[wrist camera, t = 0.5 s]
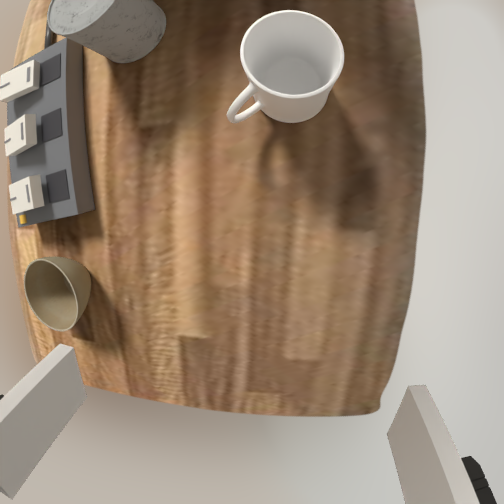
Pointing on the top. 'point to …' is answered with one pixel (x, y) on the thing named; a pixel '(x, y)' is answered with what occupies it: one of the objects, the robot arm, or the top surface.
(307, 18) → the mug
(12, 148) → the block
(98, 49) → the grey concrete cylinder
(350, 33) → the top surface
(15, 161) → the power strip
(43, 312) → the flower pot
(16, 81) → the rocker
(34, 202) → the rocker
